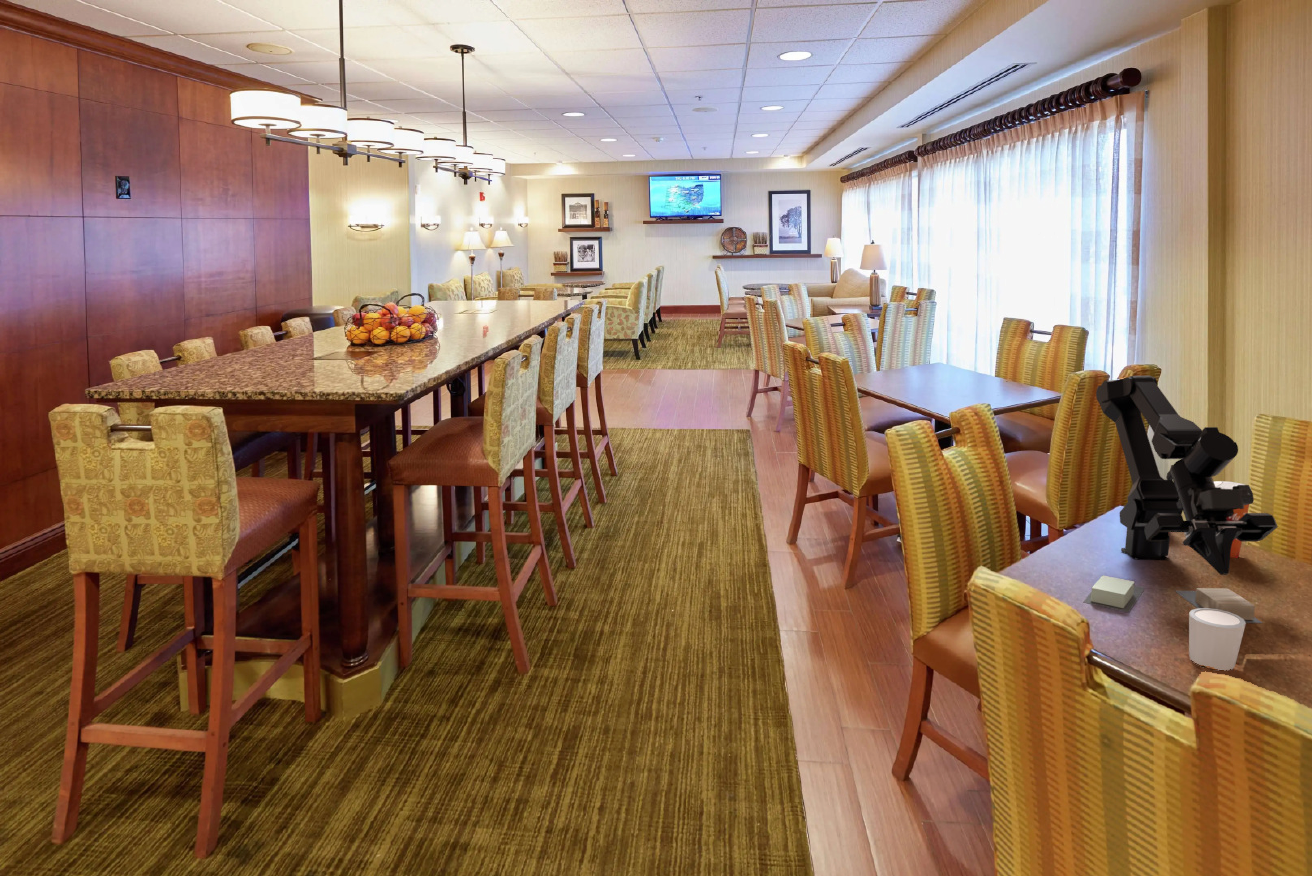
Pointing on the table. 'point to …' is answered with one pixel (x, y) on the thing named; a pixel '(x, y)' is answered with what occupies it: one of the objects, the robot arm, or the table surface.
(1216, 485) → the paper cup
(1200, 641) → the white cup
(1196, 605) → the pair of gray tiles
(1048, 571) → the table surface
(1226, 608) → the cream tile
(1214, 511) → the robot arm
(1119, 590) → the sage tile
